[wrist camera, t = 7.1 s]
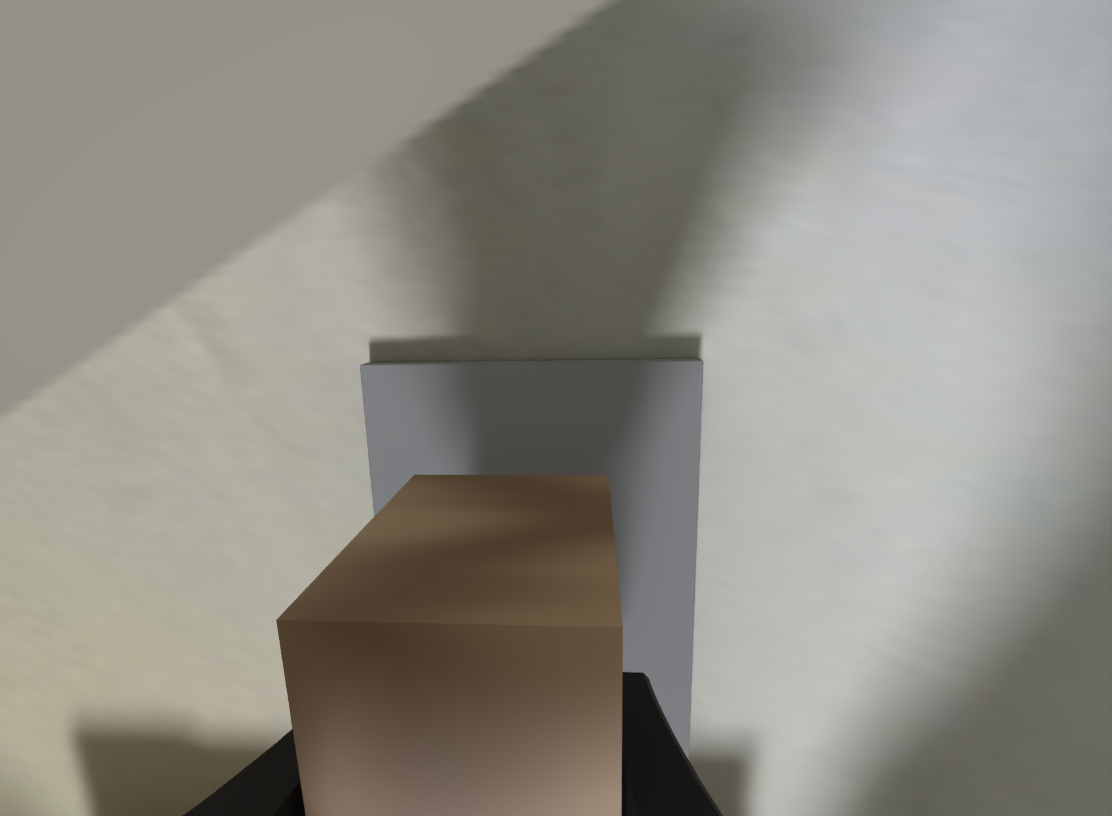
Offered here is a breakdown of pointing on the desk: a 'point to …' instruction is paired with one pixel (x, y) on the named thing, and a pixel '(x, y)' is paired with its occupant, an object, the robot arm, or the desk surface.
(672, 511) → the mat
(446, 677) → the walnut box
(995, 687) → the desk surface
